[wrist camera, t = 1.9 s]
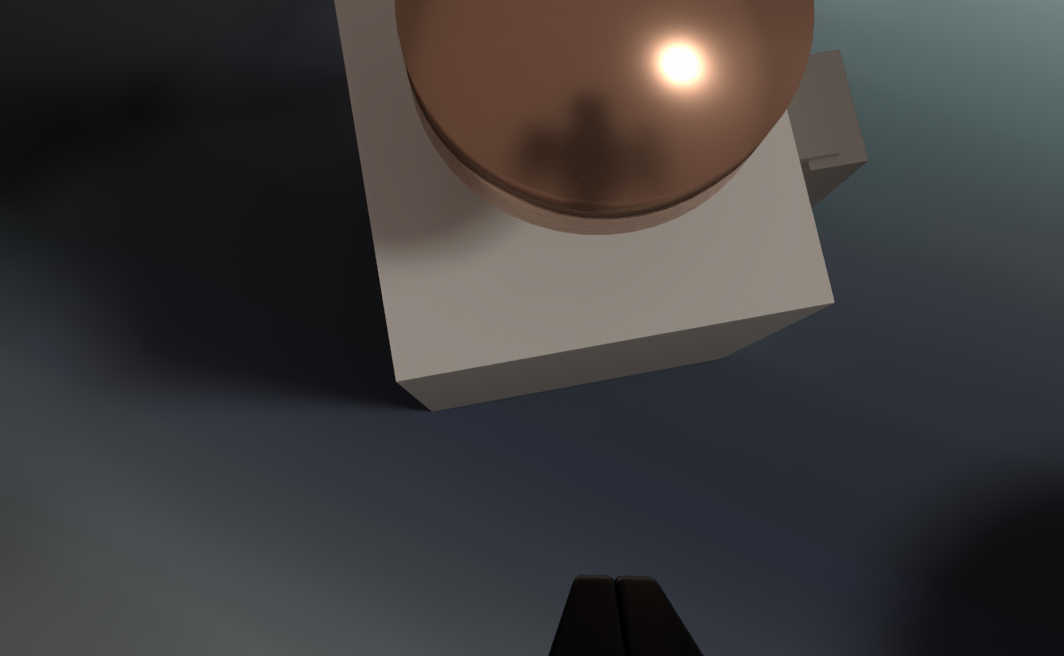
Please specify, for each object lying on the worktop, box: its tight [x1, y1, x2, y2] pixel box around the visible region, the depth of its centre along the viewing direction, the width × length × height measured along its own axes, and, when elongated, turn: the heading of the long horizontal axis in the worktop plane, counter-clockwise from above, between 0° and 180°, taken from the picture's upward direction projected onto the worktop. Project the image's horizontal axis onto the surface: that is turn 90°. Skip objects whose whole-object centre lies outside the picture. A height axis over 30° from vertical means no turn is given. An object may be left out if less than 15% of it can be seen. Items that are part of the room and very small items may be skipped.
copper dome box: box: [334, 0, 868, 412], centre depth 20 cm, size 8×10×8 cm
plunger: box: [394, 0, 814, 235], centre depth 15 cm, size 6×6×7 cm
